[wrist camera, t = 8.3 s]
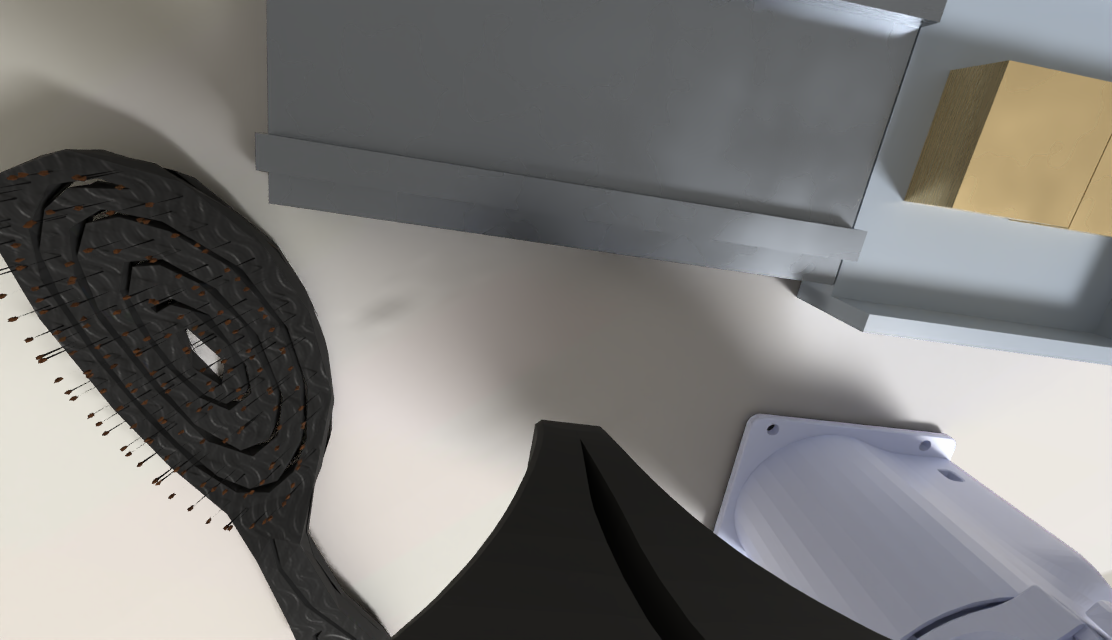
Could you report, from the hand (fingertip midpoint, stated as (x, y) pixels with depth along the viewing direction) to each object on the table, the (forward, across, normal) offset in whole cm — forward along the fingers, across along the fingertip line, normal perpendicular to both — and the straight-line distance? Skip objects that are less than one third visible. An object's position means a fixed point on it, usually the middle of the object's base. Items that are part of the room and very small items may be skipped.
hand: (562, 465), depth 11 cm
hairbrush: (+10, +9, +8) cm, 16 cm away
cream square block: (+7, -13, -9) cm, 17 cm away
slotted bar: (+9, 0, -8) cm, 12 cm away
